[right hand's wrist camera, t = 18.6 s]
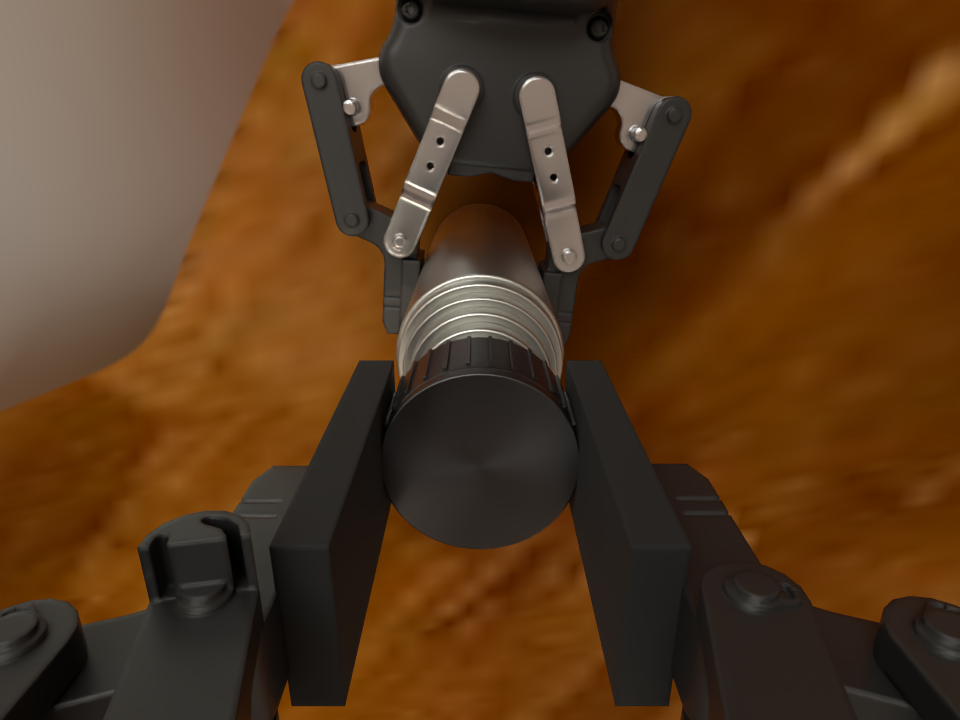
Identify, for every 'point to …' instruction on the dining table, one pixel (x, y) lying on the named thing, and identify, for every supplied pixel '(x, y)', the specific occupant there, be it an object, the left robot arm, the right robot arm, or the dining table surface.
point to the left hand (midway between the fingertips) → (475, 346)
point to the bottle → (479, 290)
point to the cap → (480, 444)
